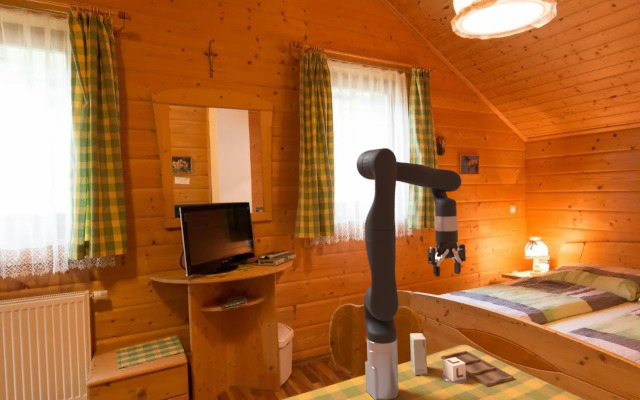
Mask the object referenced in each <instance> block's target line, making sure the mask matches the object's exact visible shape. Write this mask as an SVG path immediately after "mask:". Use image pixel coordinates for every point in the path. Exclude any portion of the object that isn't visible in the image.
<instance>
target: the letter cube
mask: <svg viewBox="0 0 640 400" xmlns="http://www.w3.org/2000/svg"><path fill="white" fill-rule="evenodd" d="M442 373H443V375H444V376H446V377H447V378H449V379H450V380H452V381H457V380H461V379H465V378H466V376H467V374H466V366H465V363H464V362H463V361H461V360H459V359H457V358H456V357H453V358H449V359H445V360H443V359H442Z"/></svg>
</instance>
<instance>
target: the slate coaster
mask: <svg viewBox="0 0 640 400" xmlns="http://www.w3.org/2000/svg"><path fill="white" fill-rule="evenodd" d="M441 378H442V379H443V381H446V382H448V383H452V384H463V383H465V382H467V381H468V375H466V378H465V379H461V380H457V381H452V380H450V379H449V378H447V377H446V376H444V375H443V372H442V373H441Z"/></svg>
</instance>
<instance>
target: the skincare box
mask: <svg viewBox="0 0 640 400" xmlns="http://www.w3.org/2000/svg"><path fill="white" fill-rule="evenodd" d="M409 339H410V340H409V341H410V343H409V345H410V367H411V371H412V372H413V375H415V376H419V375H423V376H425V375H428V360H427V359H428V358H427V338H426V337H425V335H424V334H423V333H422V332H421V333H420V332H419V333H418V332H415V333H412V332H411V333H410V334H409Z"/></svg>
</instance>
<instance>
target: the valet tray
mask: <svg viewBox="0 0 640 400" xmlns="http://www.w3.org/2000/svg"><path fill="white" fill-rule="evenodd" d="M453 357H456V358H457V359H459V360H461V361H463V362H464V363H465V366H466V376H469V378H472V379H473V380H475V381H477V382H478V383H480V384H481V385H483V386H485V387H490V386H493V385H494V386H495V385H498V384H501V383H505V382H508V381H512V380H514V379H515V378H514V375H512V374H510V373H508V372H506V371H505V370H502V369H501V368H499V367H497V366H495V365H493V364H492V363H489V362H488V361H486V360H484V359H482V358H481V357H479V356H477V355H475V354H473V353H471V352H470V351H467V350H462V351H458V352H454V353H450V354H446V355H441V356H440V359H441V360H442V361H443V360H445V359H449V358H453Z"/></svg>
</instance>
